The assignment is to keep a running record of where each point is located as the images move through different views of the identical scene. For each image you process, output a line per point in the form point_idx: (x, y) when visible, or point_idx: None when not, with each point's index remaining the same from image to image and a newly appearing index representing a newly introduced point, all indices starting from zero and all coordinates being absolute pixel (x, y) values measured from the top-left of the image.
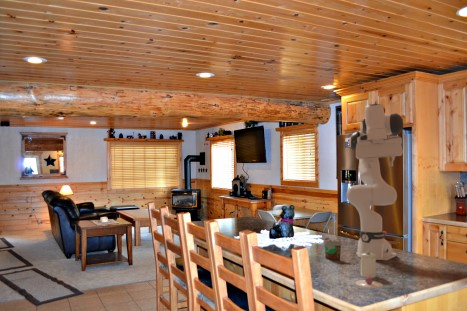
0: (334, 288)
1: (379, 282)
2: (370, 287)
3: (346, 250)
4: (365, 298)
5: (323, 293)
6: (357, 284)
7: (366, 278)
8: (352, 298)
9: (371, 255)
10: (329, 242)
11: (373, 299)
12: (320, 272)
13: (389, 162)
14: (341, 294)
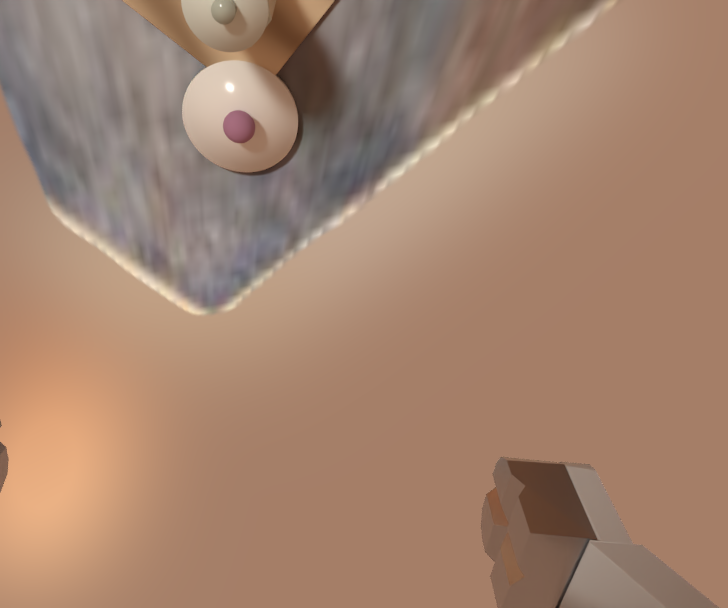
0: (108, 175)
1: (287, 91)
2: (245, 167)
3: None
4: (227, 254)
5: (82, 234)
6: (193, 138)
7: (227, 137)
8: (186, 261)
9: (244, 39)
10: None
11: (252, 258)
12: None
13: (497, 601)
14: (145, 233)
